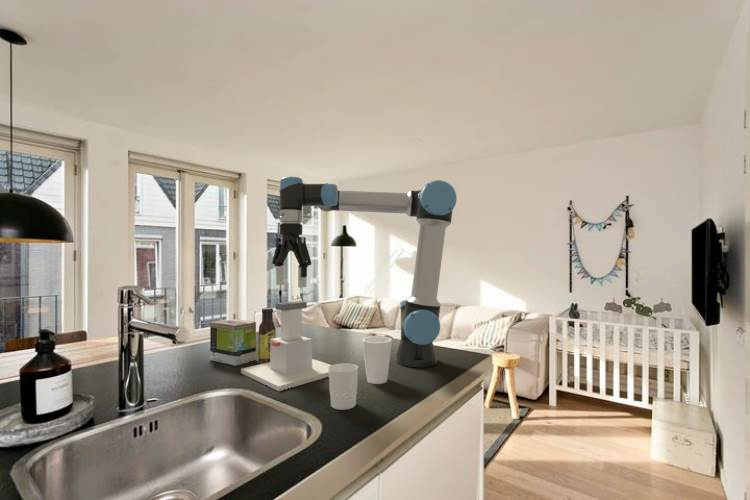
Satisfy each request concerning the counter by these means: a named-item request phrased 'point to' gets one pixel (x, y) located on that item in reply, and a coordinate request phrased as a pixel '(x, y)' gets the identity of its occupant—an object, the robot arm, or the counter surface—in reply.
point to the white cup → (343, 385)
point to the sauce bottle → (265, 335)
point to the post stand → (288, 365)
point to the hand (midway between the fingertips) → (290, 286)
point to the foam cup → (377, 358)
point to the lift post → (291, 319)
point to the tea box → (233, 341)
